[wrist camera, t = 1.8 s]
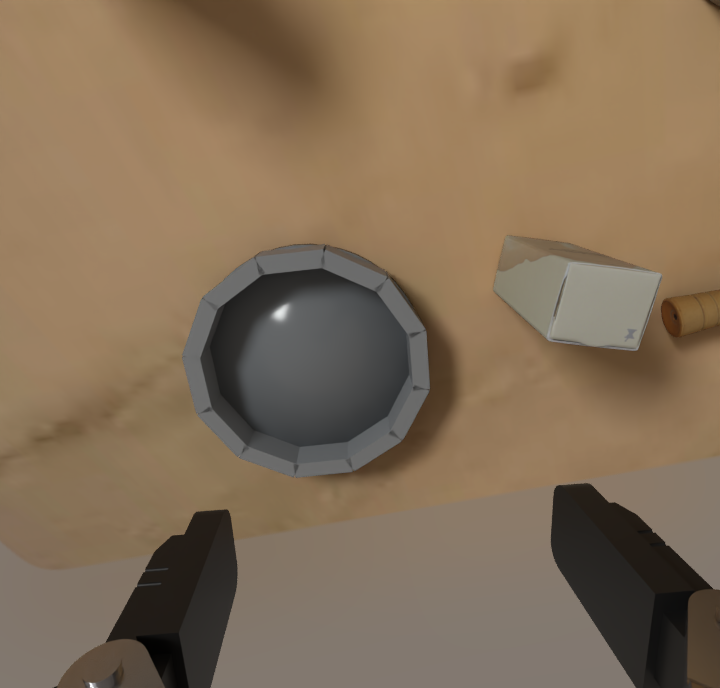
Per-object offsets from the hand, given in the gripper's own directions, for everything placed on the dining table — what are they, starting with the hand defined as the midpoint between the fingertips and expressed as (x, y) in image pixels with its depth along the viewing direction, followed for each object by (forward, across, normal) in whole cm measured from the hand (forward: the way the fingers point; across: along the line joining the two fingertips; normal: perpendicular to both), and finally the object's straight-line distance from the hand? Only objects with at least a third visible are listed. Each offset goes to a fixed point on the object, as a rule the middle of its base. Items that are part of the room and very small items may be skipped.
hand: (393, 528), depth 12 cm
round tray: (+25, +3, +3) cm, 25 cm away
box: (+24, -13, -3) cm, 28 cm away
